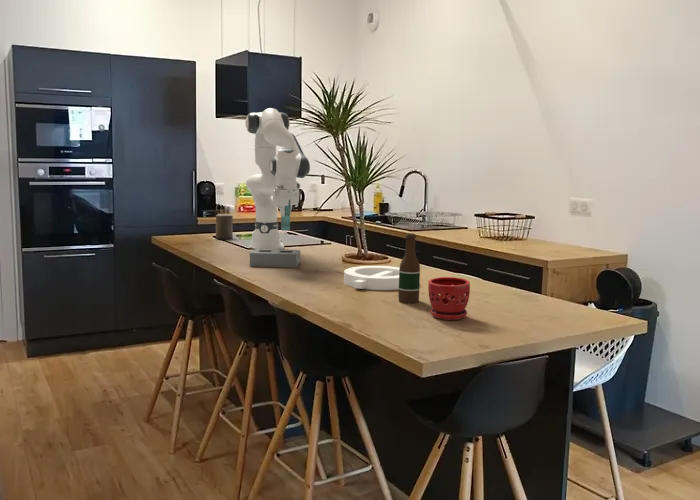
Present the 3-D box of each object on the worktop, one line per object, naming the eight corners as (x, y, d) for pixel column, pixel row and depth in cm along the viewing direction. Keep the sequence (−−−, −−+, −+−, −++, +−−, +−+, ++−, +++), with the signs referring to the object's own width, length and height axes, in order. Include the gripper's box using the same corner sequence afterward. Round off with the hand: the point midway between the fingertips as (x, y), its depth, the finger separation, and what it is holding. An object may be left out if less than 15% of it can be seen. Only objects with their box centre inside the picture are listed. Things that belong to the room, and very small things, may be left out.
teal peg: (281, 229, 305) (281, 198, 303) (289, 229, 306) (290, 199, 304) (281, 230, 301) (281, 199, 299) (290, 230, 302) (290, 199, 300)
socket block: (255, 261, 313) (255, 248, 312) (300, 262, 312) (300, 249, 311) (249, 266, 300) (249, 252, 300) (296, 267, 299) (296, 254, 298)
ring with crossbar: (354, 292, 252) (355, 279, 251) (336, 278, 279) (336, 266, 278) (424, 289, 260) (424, 277, 259) (400, 275, 286) (400, 264, 285)
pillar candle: (224, 240, 383) (224, 213, 381) (212, 238, 388) (212, 212, 386) (236, 238, 391) (236, 212, 389) (223, 237, 396) (224, 211, 394)
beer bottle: (423, 303, 234) (425, 235, 231) (402, 304, 232) (404, 235, 228) (414, 298, 242) (417, 232, 238) (394, 299, 239) (396, 232, 236)
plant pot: (431, 310, 224) (432, 275, 222) (470, 314, 220) (472, 278, 218) (423, 320, 211) (425, 282, 209) (465, 323, 207) (467, 285, 206)
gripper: (282, 186, 290) (281, 217, 292) (301, 184, 309) (301, 214, 311) (269, 185, 292) (268, 217, 294) (289, 184, 311) (289, 213, 313)
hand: (285, 215), depth 303 cm, fingers closed on teal peg, 4 cm apart
